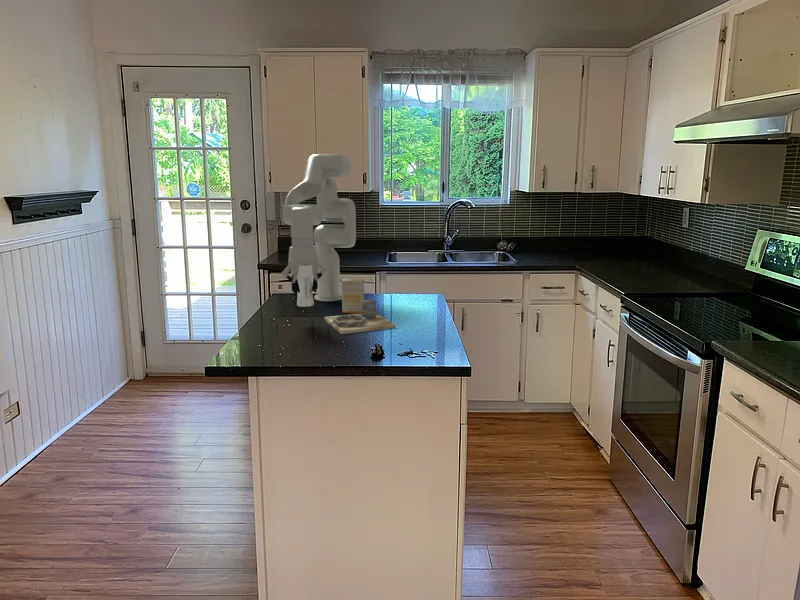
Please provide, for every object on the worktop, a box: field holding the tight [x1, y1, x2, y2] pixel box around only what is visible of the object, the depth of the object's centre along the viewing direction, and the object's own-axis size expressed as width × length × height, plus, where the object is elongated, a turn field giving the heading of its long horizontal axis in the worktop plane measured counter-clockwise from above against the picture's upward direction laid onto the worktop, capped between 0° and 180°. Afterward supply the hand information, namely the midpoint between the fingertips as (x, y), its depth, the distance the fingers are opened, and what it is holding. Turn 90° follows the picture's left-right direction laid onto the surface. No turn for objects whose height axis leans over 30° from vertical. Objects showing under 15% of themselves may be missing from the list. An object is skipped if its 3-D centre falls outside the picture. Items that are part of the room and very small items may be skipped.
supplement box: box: [340, 277, 365, 314], centre depth 230 cm, size 8×5×13 cm, turn 84°
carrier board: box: [324, 299, 396, 335], centre depth 213 cm, size 20×20×7 cm
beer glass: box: [296, 264, 315, 308], centre depth 210 cm, size 7×7×15 cm
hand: (304, 291), depth 211 cm, fingers closed on beer glass, 6 cm apart
